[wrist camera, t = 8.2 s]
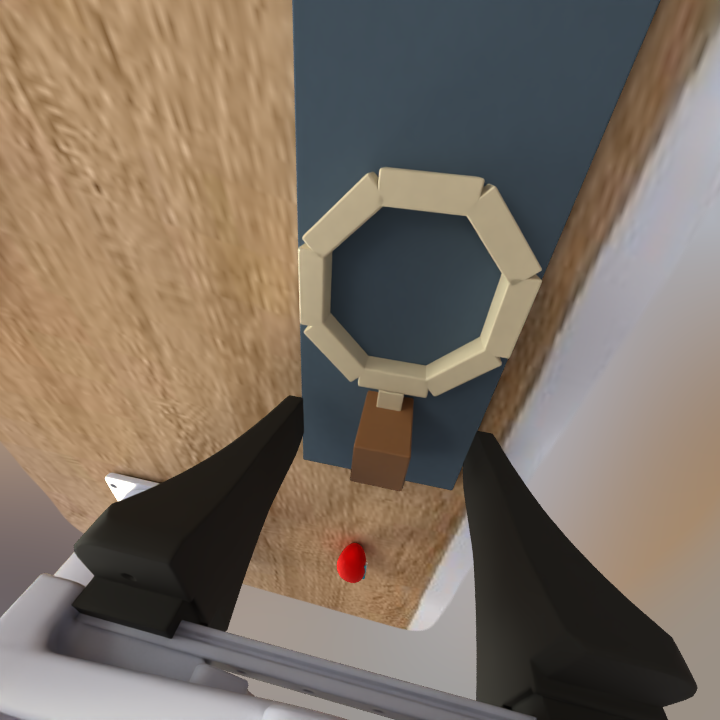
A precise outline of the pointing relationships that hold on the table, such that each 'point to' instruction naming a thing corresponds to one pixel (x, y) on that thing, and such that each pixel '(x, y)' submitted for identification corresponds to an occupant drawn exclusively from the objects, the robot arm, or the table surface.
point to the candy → (352, 563)
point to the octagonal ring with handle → (395, 378)
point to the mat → (444, 155)
